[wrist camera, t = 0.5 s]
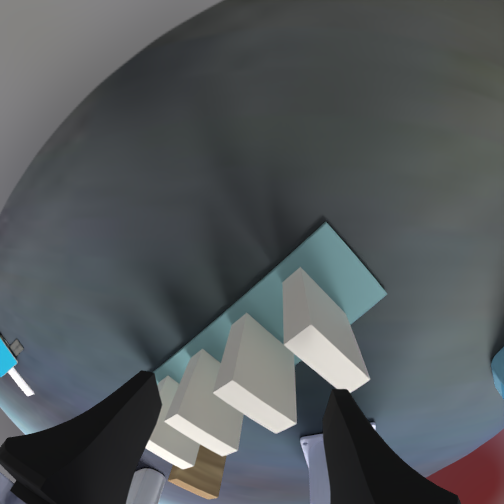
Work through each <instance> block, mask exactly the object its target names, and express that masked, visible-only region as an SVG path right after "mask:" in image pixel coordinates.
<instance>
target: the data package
mask: <svg viewBox="0 0 504 504" xmlns="http://www.w3.org/2000/svg"><path fill="white" fill-rule="evenodd" d="M491 368H492V373H493V378H494V384H495V387H496V389H497V390H498V392H499V393H500V395H501V396H502V397H503V399H504V347H503V348H502V349H501V350H500V351H499V352H498V353H497V354H496V355H495V356H494V358H493V360H492V364H491Z"/></svg>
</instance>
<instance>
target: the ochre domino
mask: <svg viewBox="0 0 504 504" xmlns="http://www.w3.org/2000/svg"><path fill="white" fill-rule="evenodd" d="M225 460H226V455H225V456H221V455H219V454H217V453H215V452H213V451H211V450H209V449H208V448H206V447H204V446H202V445H201V444H200V447H199V450H198V454H197V458H196V461H195V465H194V466H193V467H190V468H186V469H181V468H179V467H177V466H175V465H173V467H172V470H171V473H170V476H169V479H168V481H169V482H171V483H173V484H175V485H177V486H180V487H182V488H184V489H186V490H188V491H190V492H192V493H195V494H197V495H199V496H201V497H204V498H206V499H213V498H218V496H219V491H220V486H221V481H222V476H223V471H224V465H225Z"/></svg>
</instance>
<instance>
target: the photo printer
mask: <svg viewBox="0 0 504 504" xmlns="http://www.w3.org/2000/svg"><path fill="white" fill-rule="evenodd" d="M165 481H166V478H165V477H164V475H162V474H161V473H159V472H157V471H155V470H153V469H150V468H149V469H147V468H144V469H141V470H138V471H136V472H135V473H134V476H133V479H132V482H131V486H130V489H129V493H128V497H127V501H126V504H158V502H159V499H160V496H161V493H162V490H163V487H164V484H165Z"/></svg>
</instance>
